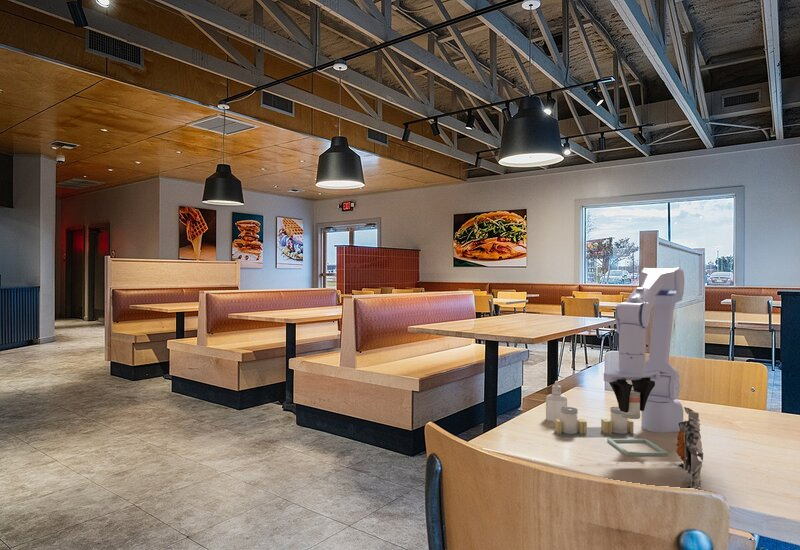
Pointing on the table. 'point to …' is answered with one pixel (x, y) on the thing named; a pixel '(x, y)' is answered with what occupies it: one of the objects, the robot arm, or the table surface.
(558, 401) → the eye dropper bottle
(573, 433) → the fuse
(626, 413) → the cylinder
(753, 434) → the table surface
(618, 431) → the fuse
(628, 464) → the table surface
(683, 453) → the meal
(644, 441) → the tray
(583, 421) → the fuse holder
